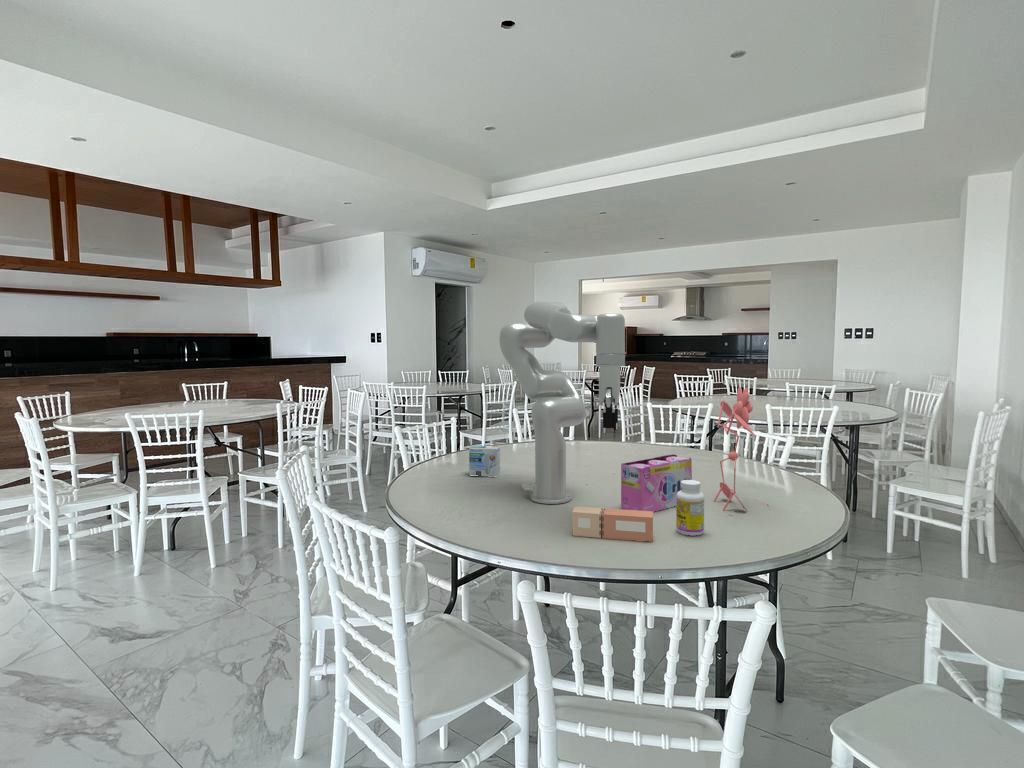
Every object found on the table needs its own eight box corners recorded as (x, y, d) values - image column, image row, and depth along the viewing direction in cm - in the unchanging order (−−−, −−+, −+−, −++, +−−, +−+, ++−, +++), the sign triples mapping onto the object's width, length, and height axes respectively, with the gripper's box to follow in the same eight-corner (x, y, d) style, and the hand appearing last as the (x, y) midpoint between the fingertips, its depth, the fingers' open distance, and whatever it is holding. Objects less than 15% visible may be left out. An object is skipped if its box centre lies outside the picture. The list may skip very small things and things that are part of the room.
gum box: (674, 496, 169) (674, 453, 169) (695, 501, 163) (696, 457, 162) (620, 509, 156) (620, 463, 155) (640, 516, 150) (640, 468, 149)
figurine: (729, 519, 146) (734, 389, 143) (703, 494, 171) (707, 384, 169) (788, 521, 144) (794, 390, 142) (753, 495, 170) (757, 384, 168)
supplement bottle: (672, 528, 139) (672, 479, 138) (697, 527, 140) (697, 478, 139) (682, 537, 132) (682, 485, 132) (708, 536, 133) (709, 484, 132)
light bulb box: (468, 477, 198) (468, 448, 198) (473, 473, 205) (472, 444, 204) (497, 478, 196) (497, 448, 196) (500, 473, 203) (500, 445, 202)
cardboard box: (602, 538, 132) (602, 513, 132) (604, 531, 137) (604, 507, 137) (652, 542, 129) (652, 517, 129) (652, 535, 134) (653, 511, 134)
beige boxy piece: (572, 535, 134) (572, 511, 134) (575, 529, 139) (575, 505, 139) (600, 538, 132) (600, 513, 132) (603, 531, 137) (602, 507, 137)
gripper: (598, 360, 151) (599, 421, 152) (592, 361, 135) (593, 429, 136) (626, 360, 149) (626, 421, 150) (623, 361, 133) (623, 430, 134)
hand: (610, 425), depth 143 cm, fingers open, 9 cm apart
